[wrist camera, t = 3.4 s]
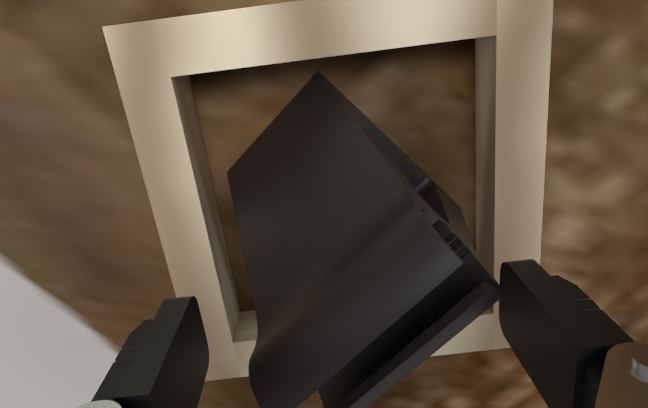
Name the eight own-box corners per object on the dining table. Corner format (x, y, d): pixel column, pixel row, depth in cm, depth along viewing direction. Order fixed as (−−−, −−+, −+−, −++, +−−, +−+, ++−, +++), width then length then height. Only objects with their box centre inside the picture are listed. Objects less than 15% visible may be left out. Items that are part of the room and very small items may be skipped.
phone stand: (457, 205, 22) (602, 391, 11) (367, 286, 24) (413, 522, 13) (318, 69, 20) (322, 130, 9) (228, 168, 21) (132, 330, 10)
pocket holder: (525, -27, 19) (555, -34, 16) (515, 313, 24) (536, 344, 22) (128, 25, 19) (102, 26, 17) (210, 347, 25) (199, 381, 23)
